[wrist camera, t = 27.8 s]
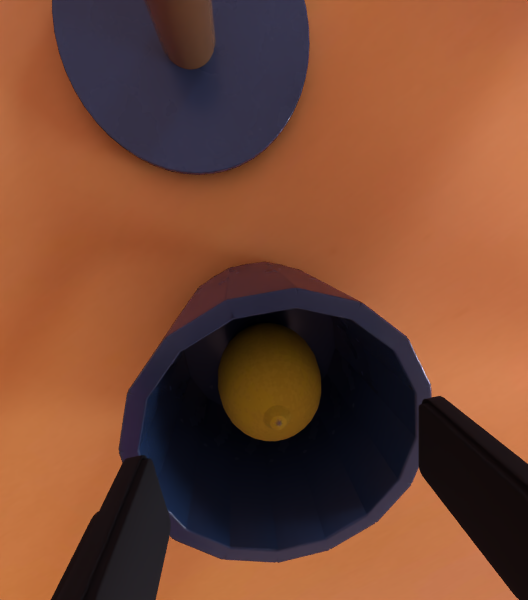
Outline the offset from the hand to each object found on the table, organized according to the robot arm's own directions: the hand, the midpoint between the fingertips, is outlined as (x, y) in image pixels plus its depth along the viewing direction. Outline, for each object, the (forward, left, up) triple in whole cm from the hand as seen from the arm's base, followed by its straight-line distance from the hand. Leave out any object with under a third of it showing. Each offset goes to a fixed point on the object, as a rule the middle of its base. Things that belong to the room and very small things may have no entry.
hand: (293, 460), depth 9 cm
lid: (-17, +6, -10) cm, 20 cm away
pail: (0, 0, -10) cm, 11 cm away
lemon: (0, 0, -10) cm, 10 cm away
